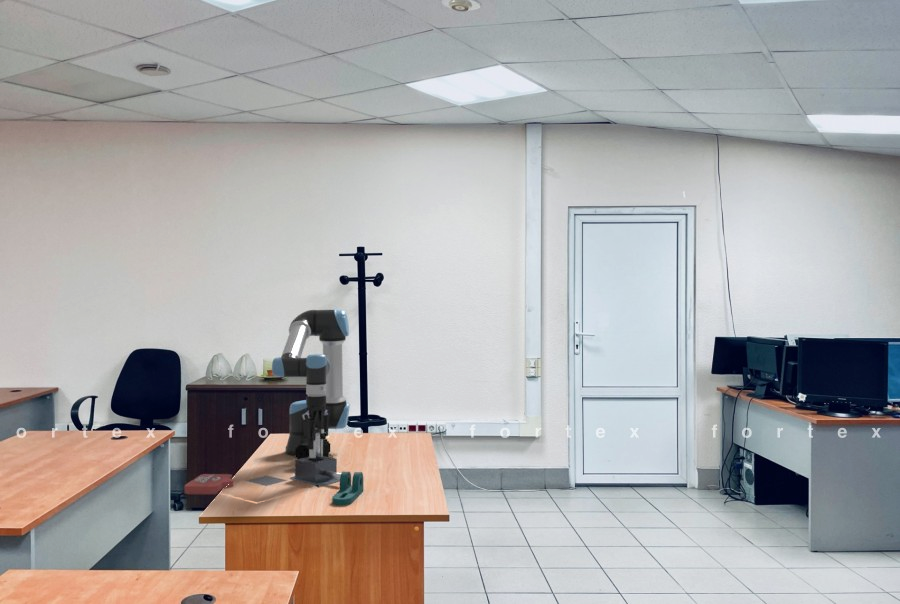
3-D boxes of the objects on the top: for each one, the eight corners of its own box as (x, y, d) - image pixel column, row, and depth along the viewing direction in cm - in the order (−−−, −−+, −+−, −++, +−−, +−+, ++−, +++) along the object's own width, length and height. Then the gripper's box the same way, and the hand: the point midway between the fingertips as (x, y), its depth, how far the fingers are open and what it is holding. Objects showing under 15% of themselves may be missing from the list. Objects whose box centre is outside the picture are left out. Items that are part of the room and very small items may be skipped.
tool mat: (245, 482, 264) (245, 480, 264) (266, 476, 272) (266, 475, 272) (266, 487, 257) (266, 485, 257) (287, 481, 265) (287, 480, 265)
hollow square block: (289, 480, 267) (289, 459, 267) (313, 474, 277) (313, 453, 277) (331, 489, 254) (331, 467, 254) (354, 482, 263) (354, 461, 263)
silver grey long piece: (306, 465, 268) (307, 427, 268) (312, 464, 270) (313, 426, 270) (319, 468, 264) (319, 430, 264) (325, 466, 266) (325, 428, 266)
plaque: (224, 485, 247) (182, 484, 248) (224, 496, 247) (182, 495, 248) (241, 472, 265) (201, 472, 265) (241, 482, 265) (201, 482, 265)
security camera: (334, 461, 298) (334, 438, 298) (308, 471, 282) (308, 446, 282) (321, 460, 301) (321, 436, 301) (294, 469, 285) (294, 444, 285)
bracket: (345, 491, 253) (345, 469, 253) (363, 492, 252) (363, 470, 252) (329, 505, 235) (329, 482, 235) (349, 506, 234) (349, 482, 234)
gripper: (307, 398, 258) (306, 461, 259) (338, 393, 271) (338, 454, 271) (293, 396, 263) (293, 459, 263) (324, 392, 276) (324, 451, 276)
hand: (316, 456), depth 267 cm, fingers closed on silver grey long piece, 3 cm apart
